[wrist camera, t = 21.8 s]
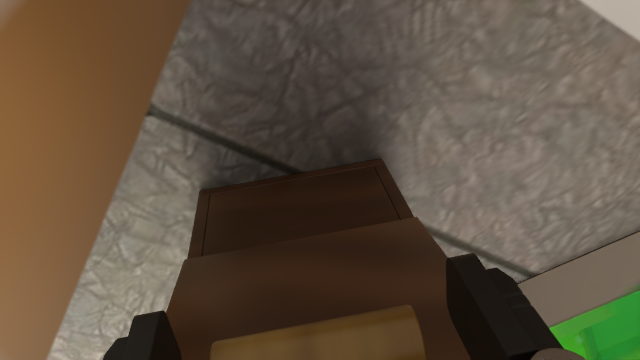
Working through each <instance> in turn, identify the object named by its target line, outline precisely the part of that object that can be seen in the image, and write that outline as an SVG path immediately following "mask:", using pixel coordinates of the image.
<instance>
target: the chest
mask: <svg viewBox="0 0 640 360" xmlns="http://www.w3.org/2000/svg"><path fill="white" fill-rule="evenodd" d="M409 218H414V216H413V214H412V212H411V210H410V208H409V207H408V205H407V203H406V201H405V199H404V198H403V196H402V194H401V192H400V190H399V188H398V187H397V185H396V183H395V181H394V179H393V178H392V176H391V174H390V172H389V170H388V169H387V167H386V165H385V163H384V161H383V160H382V159H377V160H371V161H366V162H360V163H354V164H349V165H343V166H337V167H332V168H326V169H321V170H315V171H309V172H304V173H298V174H292V175H287V176H281V177H275V178H270V179H264V180H259V181H253V182H247V183H242V184H236V185H230V186H225V187H219V188H214V189H208V190H202V191H200V192H199V198H198V204H197V209H196V215H195V220H194V226H193V231H192V237H191V242H190V248H189V253H188V259H191V258H197V257H202V256H207V255H213V254H218V253H224V252H229V251H235V250H240V249H246V248H251V247H256V246H262V245H267V244H273V243H278V242H284V241H289V240H294V239H300V238H305V237H311V236H316V235H322V234H327V233H333V232H338V231H343V230H349V229H354V228H360V227H365V226H371V225H376V224H381V223H387V222H392V221H398V220H403V219H409Z"/></svg>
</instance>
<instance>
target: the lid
mask: <svg viewBox="0 0 640 360" xmlns="http://www.w3.org/2000/svg"><path fill="white" fill-rule="evenodd" d="M447 258H448V257H447V256H446V254H445V253H444V252H443V251H442V249H441V248H440V247H439V245H438V244H437V243H436V241H435V240H434V239H433V237H432V236H431V235H430V233H429V232H428V231H427V229H426V228H425V227H424V225H423V224H422V223H421V222H420V220H419V219H418V218H417V217H414V218H409V219H403V220H398V221H392V222H387V223H381V224H376V225H371V226H365V227H360V228H354V229H349V230H343V231H338V232H333V233H327V234H322V235H316V236H311V237H305V238H300V239H294V240H289V241H284V242H278V243H273V244H267V245H262V246H256V247H251V248H246V249H240V250H235V251H229V252H224V253H218V254H213V255H207V256H202V257H197V258H191V259H186V260H184V262H183V265H182V268H181V271H180V274H179V277H178V280H177V283H176V285H175V288H174V291H173V294H172V297H171V300H170V303H169V306H168V309H167V311H166V314H167V317H168V319H169V322H170V325H171V327H172V330H173V333H174V335H175V338H176V341H177V343H178V346H179V349H180V352H181V357H182V360H471V358H470V356H469V354H468V352H467V350H466V349H465V347H464V345H463V343H462V341H461V339H460V337H459V335H458V333H457V331H456V329H455V327H454V325H453V323H452V320H451V318H450V315H449V311H448V307H447V301H446V260H447Z"/></svg>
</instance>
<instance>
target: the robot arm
mask: <svg viewBox="0 0 640 360" xmlns="http://www.w3.org/2000/svg"><path fill="white" fill-rule="evenodd" d="M446 301H447V307H448V311H449V315H450V318H451V320H452V323H453V325H454V327H455V329H456V331H457V333H458V335H459V337H460V339H461V341H462V343H463V345H464V347H465V349H466V350H467V352H468V354H469V356H470V358H471V360H586V359H585V358H583V357H582V356H580V355H579V354H577V353H575V352H572V351H569V350H566V349H564V348H563V347H562V345H561V344H560V343H559V341H558V340H557V338H556V337H555V336H554V334H553V333H552V332H551V330H550V329H549V327H548V326H547V325H546V323H545V322H544V321H543V319H542V318H541V316H540V315H539V314H538V312H537V311H536V310H535V308H534V307H533V306H531V303H530V301H529V300H528V299H527V297H526V296H525V295H523V292H522V290H521V289H520V288H519V286H518V285H517V284H516V282H515V281H514V279H513V278H511V277H510V276H508V275H507V274H505V273H504V272H502V271H501V270H499V269H498V268H492V269H487V270H486V269H485V268H484V266H483V265H482V263H481V262H480V260H479V259H478V257H477V256H476V255H475V254H474V253H471V254H466V255H460V256H455V257H450V258H447V260H446ZM103 360H182V357H181V352H180V349H179V346H178V343H177V341H176V338H175V335H174V333H173V330H172V327H171V325H170V322H169V319H168V317H167V314H166V313H165V311H158V312H152V313H147V314H142V315H136V316H135V317H134V319H133V321H132V325H131V328H130V332H129V335H128V337H123V338H118V339H117V340H116V341H115V342H114V344H113V345H112V346H111V347H110V349H109V350H108V351H107V353H106V354H105V355H104V358H103Z"/></svg>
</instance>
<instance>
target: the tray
mask: <svg viewBox="0 0 640 360" xmlns="http://www.w3.org/2000/svg"><path fill="white" fill-rule="evenodd" d="M517 285H518V286H519V288H520V289H521V290H522V292H523V295H525V296H526V297H527V299H528V300H529V301H530V303H531V306H533V307H534V308H535V310H536V311H537V312H538V314H539V315H540V316H541V318H542V319H543V321H544V322H545V323H546V325H547V326H548V327H549V329H550V330H551V332H552V333H553V334H554V336H555V337H556V338H557V340H558V341H559V343H560V344H561V345H562V347H563V348H564V349H566V350H569V351H572V352H575V353H577V354H579V355H580V356H582V357H583V358H585V359H586V360H640V232H637V233H635V234H633V235H630V236H628V237H626V238H624V239H621V240H619V241H617V242H614V243H612V244H610V245H607V246H605V247H603V248H600V249H598V250H596V251H593V252H591V253H589V254H586V255H584V256H582V257H580V258H577V259H575V260H573V261H570V262H568V263H566V264H563V265H561V266H559V267H556V268H554V269H552V270H549V271H547V272H545V273H542V274H540V275H538V276H536V277H533V278H531V279H529V280H526V281H524V282H522V283H519V284H517Z"/></svg>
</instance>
